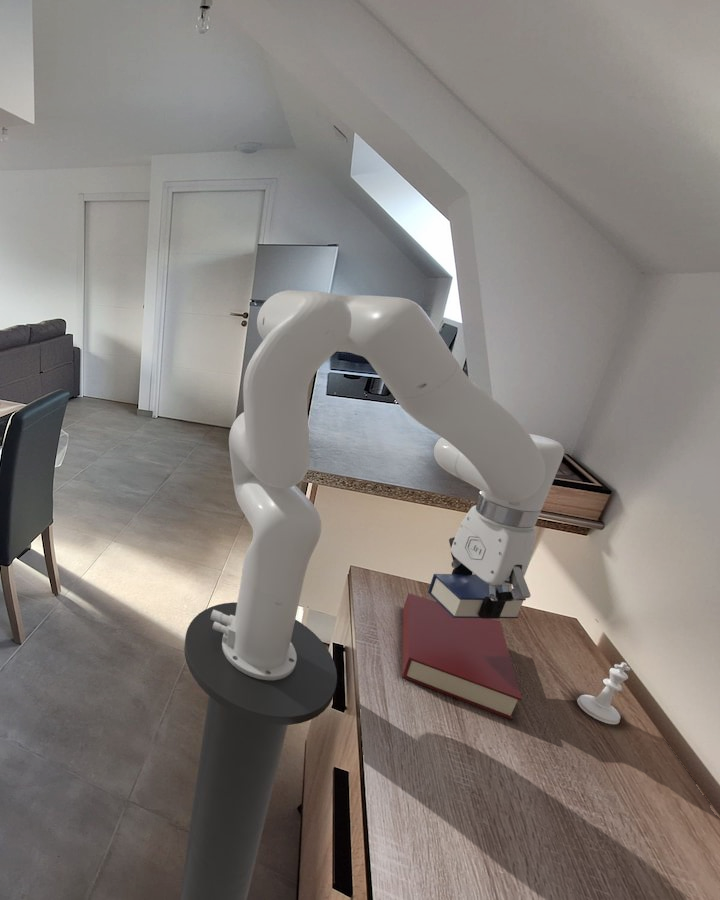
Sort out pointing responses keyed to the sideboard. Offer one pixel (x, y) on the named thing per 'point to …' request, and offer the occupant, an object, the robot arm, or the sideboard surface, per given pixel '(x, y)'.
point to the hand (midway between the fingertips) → (471, 601)
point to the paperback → (466, 595)
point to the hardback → (458, 656)
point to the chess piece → (605, 697)
